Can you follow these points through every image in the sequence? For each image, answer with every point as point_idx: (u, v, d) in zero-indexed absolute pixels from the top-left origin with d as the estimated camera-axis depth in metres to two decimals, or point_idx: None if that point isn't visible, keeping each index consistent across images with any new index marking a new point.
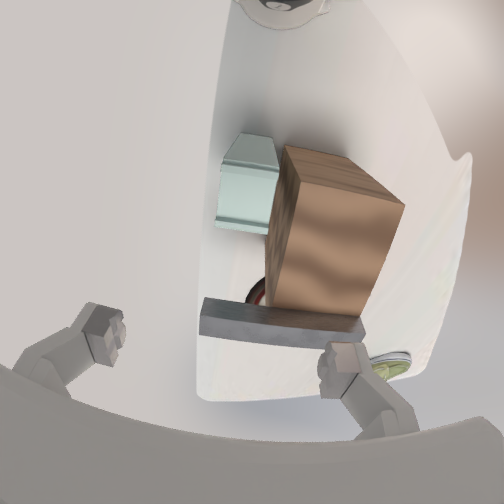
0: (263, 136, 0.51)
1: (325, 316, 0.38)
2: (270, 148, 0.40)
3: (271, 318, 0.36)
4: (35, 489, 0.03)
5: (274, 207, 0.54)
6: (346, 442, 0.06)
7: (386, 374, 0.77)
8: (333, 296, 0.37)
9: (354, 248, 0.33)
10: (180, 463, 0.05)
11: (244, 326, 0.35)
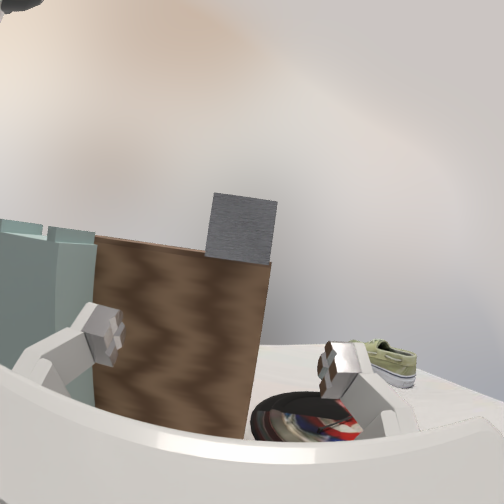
0: None
1: None
2: None
3: None
4: (35, 489, 0.03)
5: None
6: (346, 442, 0.06)
7: (367, 343, 0.71)
8: None
9: (137, 241, 0.33)
10: (180, 463, 0.05)
11: None
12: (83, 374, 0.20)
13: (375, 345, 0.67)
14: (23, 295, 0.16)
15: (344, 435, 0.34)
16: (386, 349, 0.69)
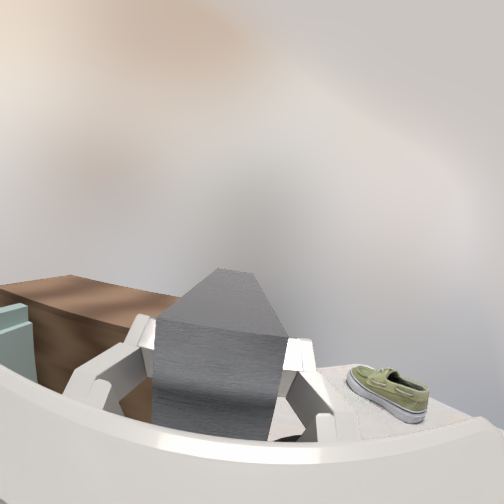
0: None
1: None
2: None
3: None
4: (35, 489, 0.03)
5: None
6: (346, 442, 0.06)
7: (375, 372, 0.62)
8: None
9: (100, 291, 0.24)
10: (180, 463, 0.05)
11: (207, 292, 0.13)
12: None
13: (384, 376, 0.58)
14: None
15: None
16: (396, 378, 0.60)
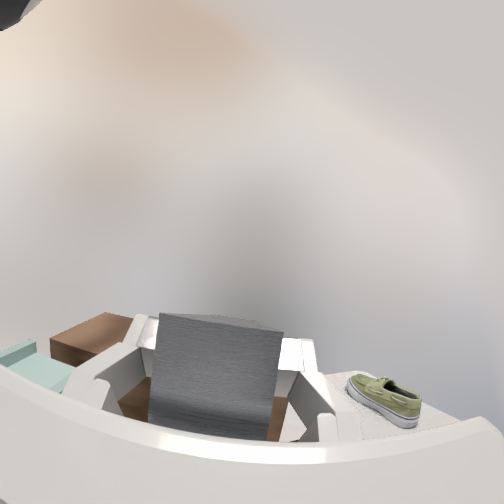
0: None
1: None
2: None
3: None
4: (35, 489, 0.03)
5: None
6: (346, 442, 0.06)
7: (372, 381, 0.67)
8: None
9: None
10: (180, 463, 0.05)
11: (209, 317, 0.13)
12: None
13: (381, 384, 0.63)
14: None
15: None
16: (391, 386, 0.65)
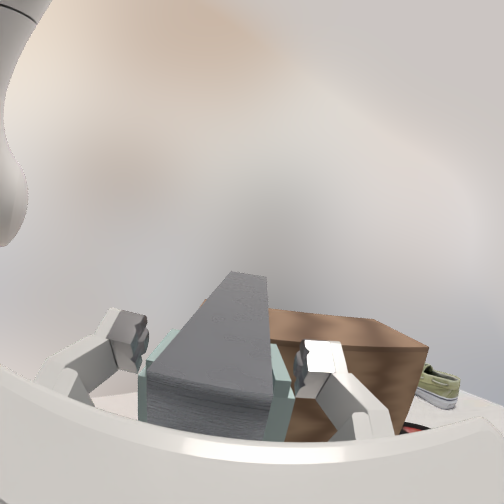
0: None
1: None
2: None
3: None
4: (35, 489, 0.03)
5: None
6: (346, 442, 0.06)
7: None
8: (332, 324, 0.30)
9: None
10: (180, 463, 0.05)
11: (209, 320, 0.13)
12: None
13: None
14: None
15: None
16: (429, 372, 0.65)
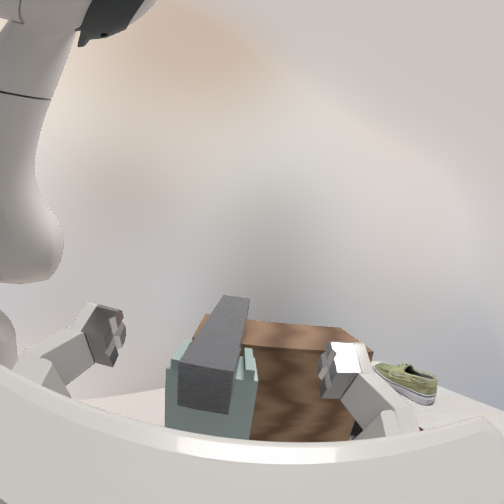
0: None
1: None
2: None
3: None
4: (35, 489, 0.03)
5: None
6: (346, 442, 0.06)
7: (394, 367, 0.77)
8: (301, 332, 0.40)
9: (249, 327, 0.40)
10: (180, 463, 0.05)
11: (206, 335, 0.23)
12: None
13: (402, 369, 0.73)
14: (215, 417, 0.23)
15: None
16: (410, 371, 0.75)
